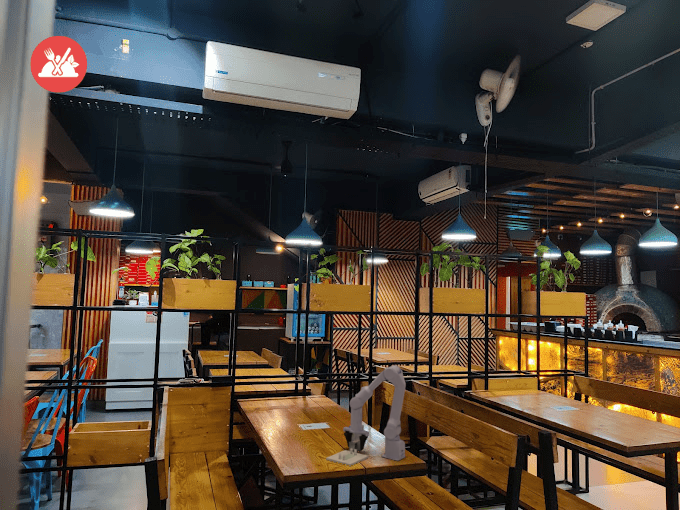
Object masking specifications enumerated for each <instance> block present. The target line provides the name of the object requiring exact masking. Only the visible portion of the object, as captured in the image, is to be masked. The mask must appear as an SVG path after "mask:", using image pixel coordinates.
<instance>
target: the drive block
mask: <svg viewBox="0 0 680 510" xmlns="http://www.w3.org/2000/svg"><path fill="white" fill-rule="evenodd" d="M350 448H352V449H353V452H354V449H357V453H359V452H361V451H362V450H360V440H359V439H356V440H353V441H350V442H349V447H348V451H350ZM358 451H359V452H358Z"/></svg>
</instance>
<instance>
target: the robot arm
mask: <svg viewBox="0 0 680 510" xmlns="http://www.w3.org/2000/svg"><path fill="white" fill-rule="evenodd" d="M385 381H389V382H390V383H391V384H392V385H393V387H394V392H393V396H392V401H391V402H392V403H391V407H390V415H389V419H388V420H387V423H386V427H385V428H384V430H383V435H384V437H385V438H384V439H385V440H384V454H382V455H381V458H384V459H390V460H393V461H397V462H398V461H400V460H402V459H405V458H406V443H405V441H404V440H402V439H401V438H400V437H401V436H400V434H401V432H402V428H401V424H402V423H401V422H402V421H401V415H402V409H403V404H404V398H405V392H406V385H407V383H406V381H405V378H404V374H403V370H402V369H401V368H400V367H399V366H398V365H396V364H394V365H393V364H392V365H391V366H388V367H386V368H385V369H384V370H382V371H381V372H380V373H379V374H378V375H377V376H376V377H375V378H374V379H373V381H372V382H371V383H370V384H369V385H365V386H362V387H361V388H360V391H359V392H358V393H356V394H355V396H354V397H352V398H351V399H350V401H349V407H350V426H351V427H349V426H344V427H343V429H342V430H343V435H344V438H345V440H346V444H347V447H348V448H349V442H350V441H352V434H353V433H355V434H360V435H362V436H359V439H360V450H361V451H363V450H364V449H365V445H366V442H367V440H368V438H369V436H370V431H368V430H362V425H363V407H364V404H365V403H366V402H367V401H368V400H369V399H370V398H371V397H372V396H373V395H374V390H375V389H376V388H377V387H379V385H381V383H383V382H385Z"/></svg>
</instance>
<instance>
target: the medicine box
mask: <svg viewBox="0 0 680 510" xmlns="http://www.w3.org/2000/svg"><path fill="white" fill-rule="evenodd" d="M348 427H351V425H349V426H348ZM364 427H365V426H364V424H362V430H364ZM359 436H362V435H360V434H355V433H353V434H352V441H353V440H356V439H359ZM359 440H360V439H359Z"/></svg>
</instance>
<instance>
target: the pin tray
mask: <svg viewBox="0 0 680 510" xmlns="http://www.w3.org/2000/svg"><path fill="white" fill-rule="evenodd" d="M369 456H370V455H366V454H362V453H359V452H357V449H354V452H353V449H352V448H350V451H349V450H346V449H345V450H342V451H339V452H337V453H335V454H333V455H330V456H327V457H326V458H325V460H326V461H328V460H329V461H328V462H332V461H333V463H336V462H338V463H337V464H339V463H342V464H341V465H343V464H346V465H345V466H347V465H349V466H348V467H352V466H351V465H353V466H355V465H356V463H357V464H359V463H360V461H361V462H364V461H366V460H367V458H368V459H369V458H370V457H369ZM358 462H359V463H358ZM354 464H355V465H354Z"/></svg>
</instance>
